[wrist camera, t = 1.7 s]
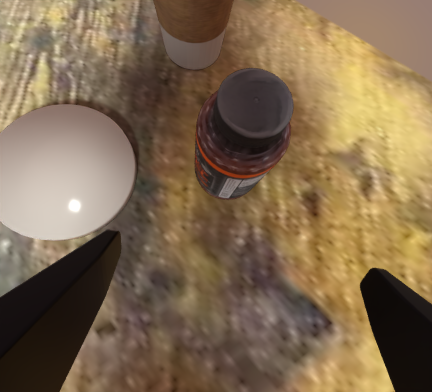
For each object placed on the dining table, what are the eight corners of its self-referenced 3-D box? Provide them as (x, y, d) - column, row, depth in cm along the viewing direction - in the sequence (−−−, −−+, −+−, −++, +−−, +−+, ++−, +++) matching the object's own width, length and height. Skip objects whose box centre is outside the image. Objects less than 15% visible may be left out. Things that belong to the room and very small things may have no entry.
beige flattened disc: (69, 270, 20) (61, 271, 19) (-39, 182, 21) (-53, 178, 20) (164, 162, 23) (162, 157, 22) (66, 88, 23) (59, 80, 22)
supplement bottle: (186, 150, 23) (181, 60, 12) (244, 135, 24) (287, 38, 13) (205, 209, 22) (219, 169, 11) (265, 191, 23) (331, 136, 12)
